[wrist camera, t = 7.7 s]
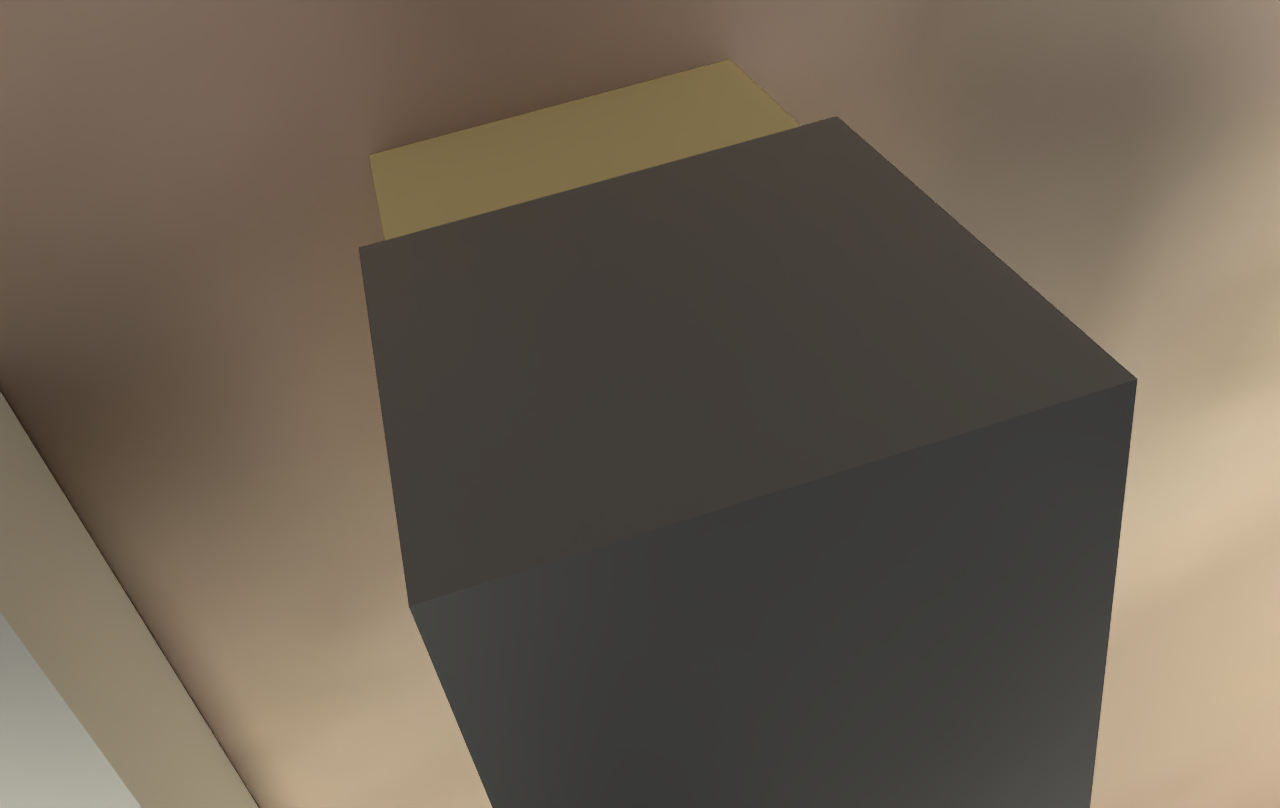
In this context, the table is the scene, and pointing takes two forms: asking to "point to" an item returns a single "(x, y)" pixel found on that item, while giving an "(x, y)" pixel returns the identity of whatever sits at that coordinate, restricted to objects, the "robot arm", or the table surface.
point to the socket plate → (86, 668)
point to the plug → (738, 465)
